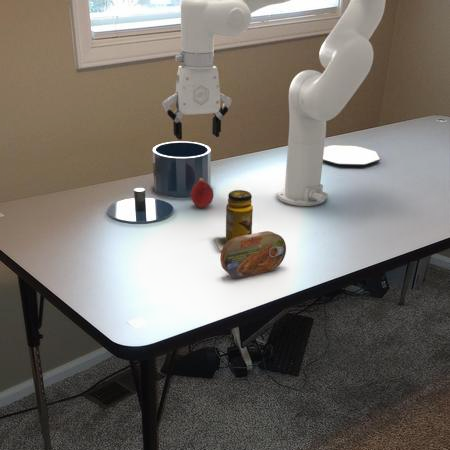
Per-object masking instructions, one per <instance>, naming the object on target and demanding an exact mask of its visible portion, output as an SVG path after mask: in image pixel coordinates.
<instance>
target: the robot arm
mask: <svg viewBox="0 0 450 450" xmlns="http://www.w3.org/2000/svg"><path fill="white" fill-rule="evenodd" d="M290 1H291V0H181V2H180V51H179V54H175V56H174V59H175V62H177V63H179V64H180V65H178V68H177V73H176V74H177V76H176V82H175V93H174V94H173V95H171V96H169V97H168V98H166V99H165V100H163V101H162V102H161V105H162V107H163V110H164V112H165V113H166V115H167V116H168V117H169V118H170V119H171V120H172V122H173V135H174V136H175V138H176V139H177V140H178V141H181V140H183V123H182V121H181V120H182V118H183V117H184V116H185V115H188V116H189V115H205V114H206V115H207V114H213V116H212V127H211V128H212V132H211V133H212V135H213V136H214V137H216V138H219V137H220V133H221V132H222V120H223V119H224V116H225V115H226V114H227V113H228V111H229V108H230V106H231V104H232V102H233V100H232V98H230V97H229V96H226V95H225V94H224V93H221V89H220V88H221V87H220V77H219V69H218V66H216V65H214V61H215V60H214V59H215V58H214V57H215V55H214V51H215V50H214V49H215V35H219V36H225V37H239V36H241V35H243V34H244V33H246V32H247V30H248V29H249V28H250V26H251V21H252V13H255V12H256V11H259V10H261V9H262V8H265V7H268V6H272V5H279V4H284V3H287V2H290ZM386 1H387V0H350V1H349V3H348V5H347V7H346V9H345V10H344V12H343V14H342V15H341V17H340V18H339V19H338V21H337V23H336V24H335V25H334V27H333V28H332V30H331V31H330V33H329V34H328V35H327V37H326V38H325V39H324V41H323V43H322V44H321V46H320V49H319V52H318V53H319V54H318V58H319V61H320V62H319V63H320V65H321V66H322V67H323V68H324V69H325V70H323V73H322V72H320V71H318V70H314V69H306V70H302V71H300V72H299V73H298V74H296V75H295V77H294V78H293V79H292V81H291V83H290V86H289V90H288V113H289V122H288V123H289V124H288V139H287V150H286V151H287V152H286V167H285V181H284V188H283V189H281V190H280V191H279V192H278V199H279V200H280V201H281V202H282V203H284V204H288V205H292V206H298V207H313V206H317V205H320V204H323V203H324V202H325V200H326V199H327V198H328V197H329V193H328V192H326V191H323V190H324V184H323V183H321V182H322V171H323V165H324V163H323V162H324V160H323V154H324V147H325V144H326V138H327V137H326V136H327V121H330V120H332V119H335V118H336V117H337V116H338V115H339V114H340V113H341V112H342V110H343V109H344V108H345V107H346V106H347V104H348V103H349V102H350V100H351V99H352V97H353V96H354V94H355V93H356V92H357V90H358V89H359V88H360V86H361V85H362V83H363V82H364V81H365V79H366V78H367V76H368V75H369V72H370V71H371V69H372V66H373V61H374V47H373V45H372V43H371V41H369V40H370V39H371V37H372V36H373V34H374V32H375V31H376V30H377V28H378V26H379V25H380V22H381V21H382V18H383V16H384V13H385V9H386ZM221 101H223V104H222V106H221ZM173 104H175V108H176V109H175V111H172V107H171V105H173Z"/></svg>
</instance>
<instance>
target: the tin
mask: <svg viewBox="0 0 450 450" xmlns="http://www.w3.org/2000/svg"><path fill="white" fill-rule="evenodd" d="M286 253H287V245H286V241H285V239H284V238H283V236H281V234H279V233H276V232H273V231H271V230H269V231H268V230H265V231H260V232H254V233H252V234H250V235H245V236H240V237H235V238H233V239H231V240H229V241H228V242H227V243H226V244H225V245H224V247H223V249H222V251H220V255H219V256H220V258H219V259H220V265H221V268H222V269H223V270H224V271H225V272H226V273H227V274H228V275H229V276H230V277H231V278H232V277H233V278H235V279H242V278H246V277H251V276H254V275H255V276H256V275H259V274H264V273H268V272H272V271H274V270H275V269H277V268H278V267H279V266H281V264H282V262H283V261H284V259H285V257H286Z"/></svg>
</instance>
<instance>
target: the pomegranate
mask: <svg viewBox="0 0 450 450" xmlns="http://www.w3.org/2000/svg"><path fill="white" fill-rule="evenodd" d="M190 199H191V201H192V203H193V204H194V205H195V206H196V207H198V208H199V209H205V208H207V207H208V206H209V205H211V203H212V202H213V199H214V191H213V188H212V186H211V187H210V185H209V184H207V183H206V182H205V181H204V180H203V179H202V178H200V179H199V182H198V183H196V184H195V185H194V186H193V188H192V191H191V197H190Z"/></svg>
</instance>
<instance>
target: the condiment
mask: <svg viewBox="0 0 450 450" xmlns="http://www.w3.org/2000/svg"><path fill="white" fill-rule="evenodd" d="M252 197H253V196H252V193H251V192H250V191H247V190H243V189H235V190H232V191H230V192H229V193H228V194H227V198H228V199H227V204H226V207H225V209H226V211H225V236H224V237H213V240H214V242H215V244H216V246H217V248H218V250H219V251H220V252H221V251H222V249H223V247H224V245H225V244H226V243H227V242H228V241H229V240H231V239H233V238H235V237H240V236H245V235H250V234H253V212H254V210H253V209H254V208H253V204H252V203H253V202H252Z"/></svg>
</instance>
